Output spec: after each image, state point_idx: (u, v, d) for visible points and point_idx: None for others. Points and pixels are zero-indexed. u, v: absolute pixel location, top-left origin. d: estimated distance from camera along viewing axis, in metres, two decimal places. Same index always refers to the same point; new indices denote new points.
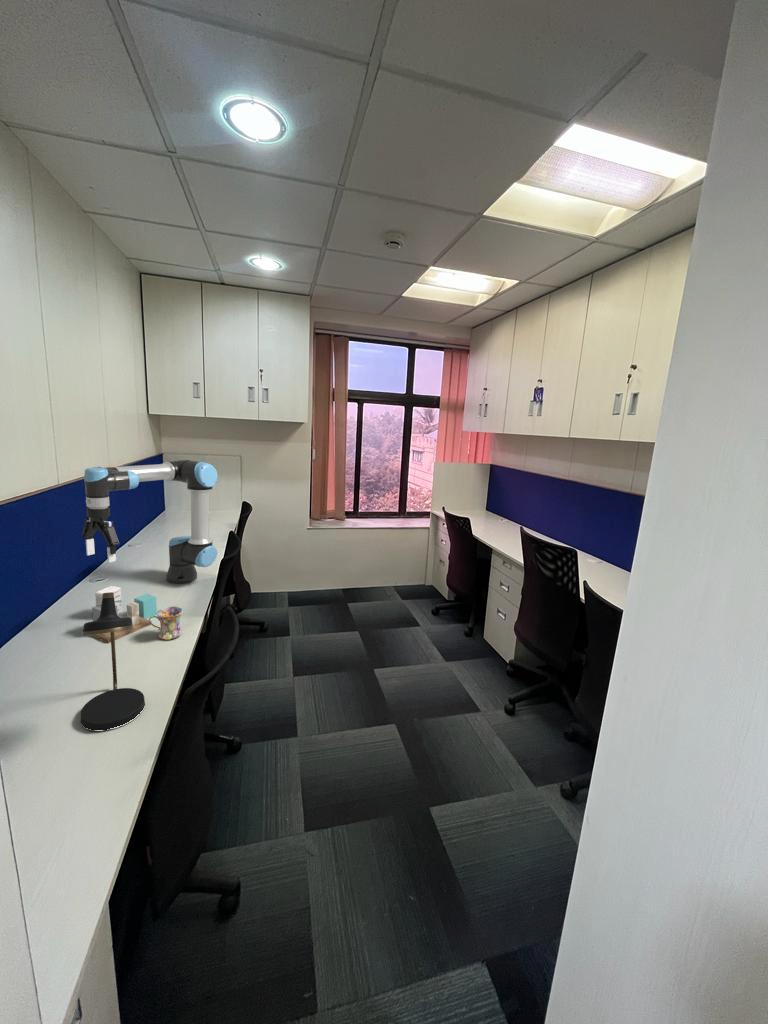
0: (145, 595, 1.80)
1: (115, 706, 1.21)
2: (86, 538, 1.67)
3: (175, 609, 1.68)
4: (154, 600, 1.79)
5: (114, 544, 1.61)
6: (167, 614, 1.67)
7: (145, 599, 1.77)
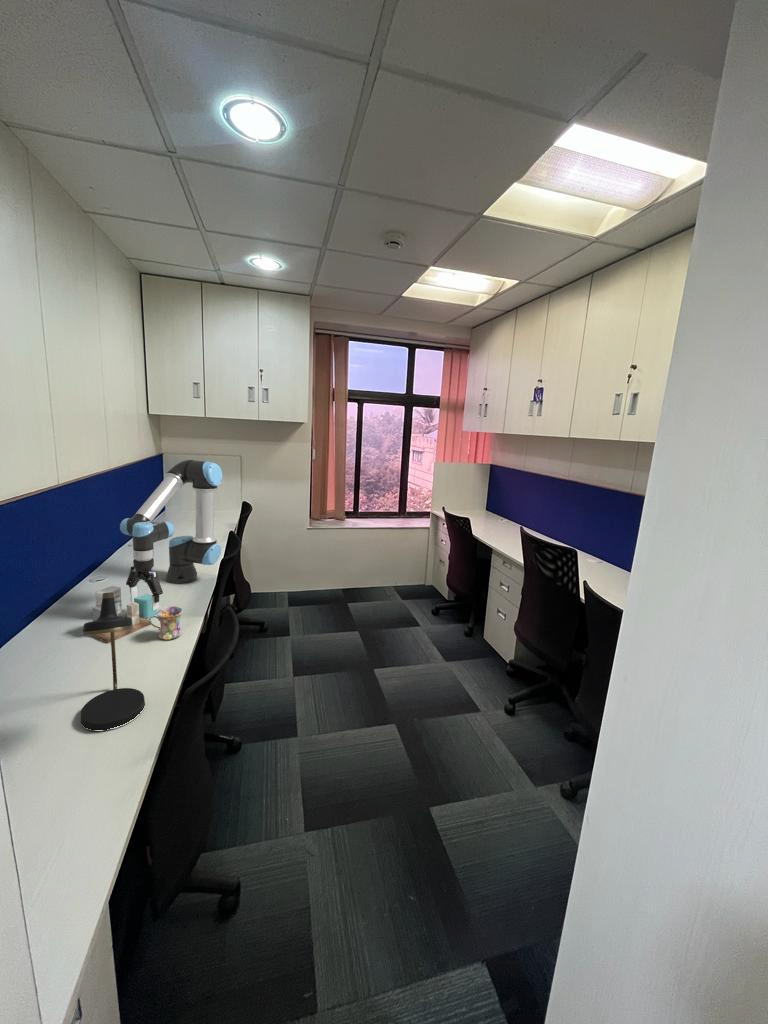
0: (145, 595, 1.80)
1: (115, 706, 1.21)
2: (131, 586, 1.79)
3: (175, 609, 1.68)
4: None
5: (158, 593, 1.73)
6: (167, 614, 1.67)
7: (145, 599, 1.77)
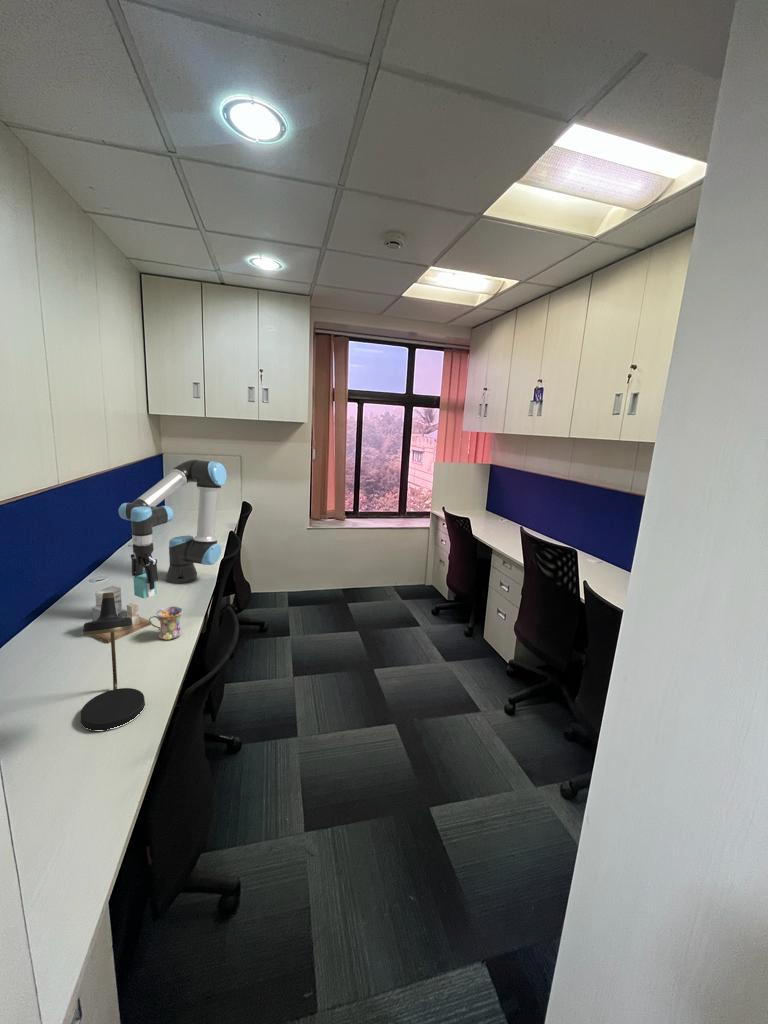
0: (145, 574, 1.79)
1: (115, 706, 1.21)
2: None
3: (175, 609, 1.68)
4: None
5: (153, 580, 1.74)
6: (167, 614, 1.67)
7: (145, 578, 1.75)
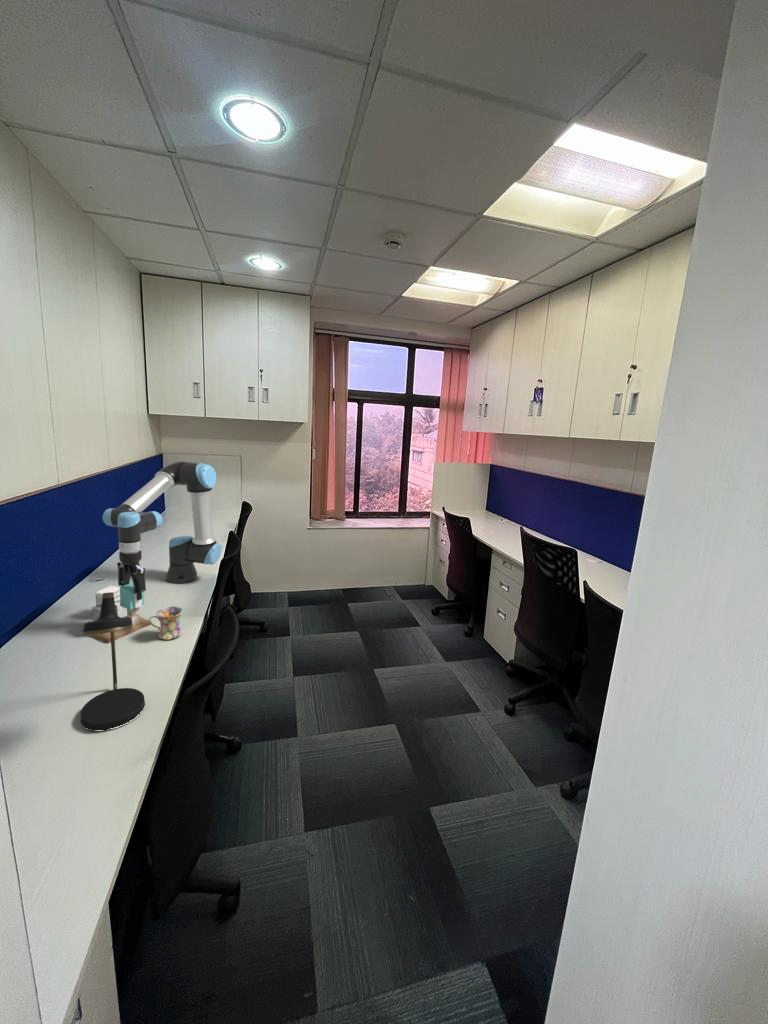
0: (132, 584, 1.68)
1: (115, 706, 1.21)
2: None
3: (175, 609, 1.68)
4: None
5: (141, 590, 1.63)
6: (167, 614, 1.67)
7: (132, 588, 1.65)
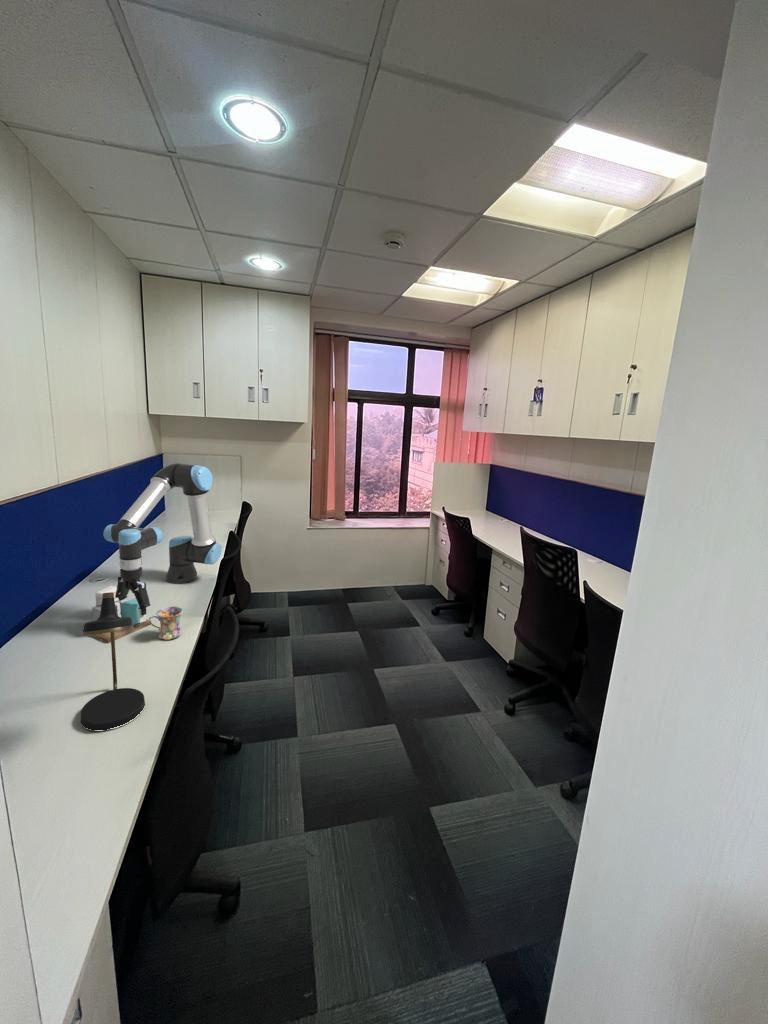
0: (133, 600, 1.70)
1: (115, 706, 1.21)
2: (120, 599, 1.69)
3: (175, 609, 1.68)
4: None
5: (145, 606, 1.64)
6: (167, 614, 1.67)
7: (132, 604, 1.66)
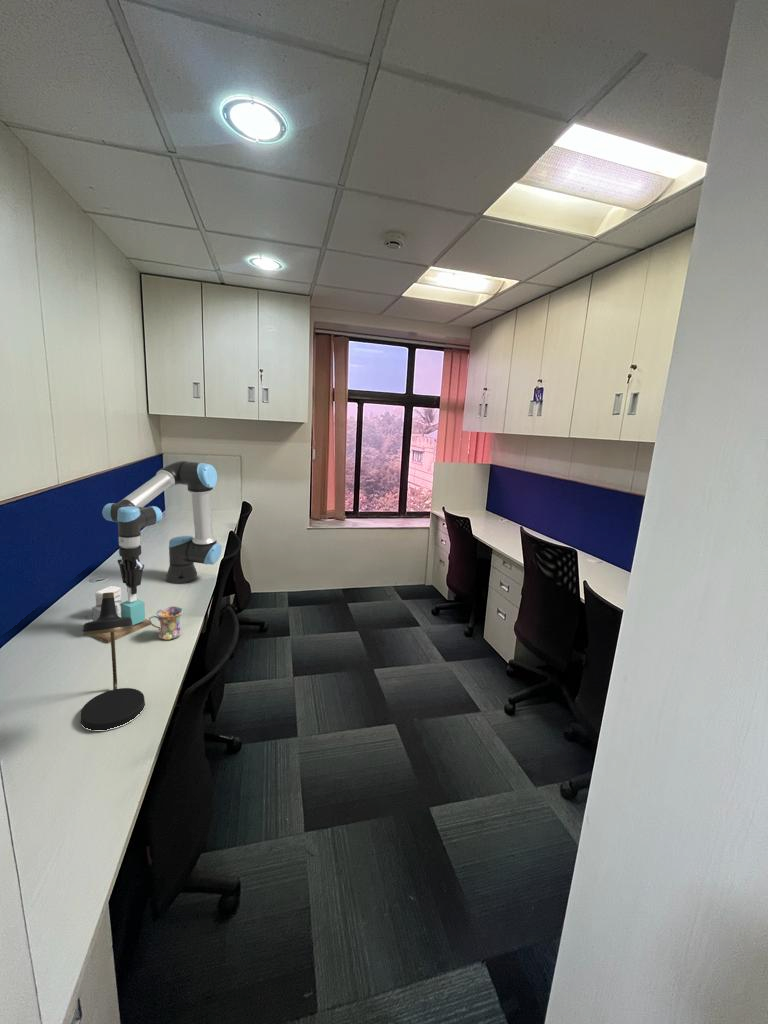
0: None
1: (115, 706, 1.21)
2: (127, 583, 1.65)
3: (175, 609, 1.68)
4: (142, 605, 1.69)
5: (135, 585, 1.64)
6: (167, 614, 1.67)
7: (132, 604, 1.66)
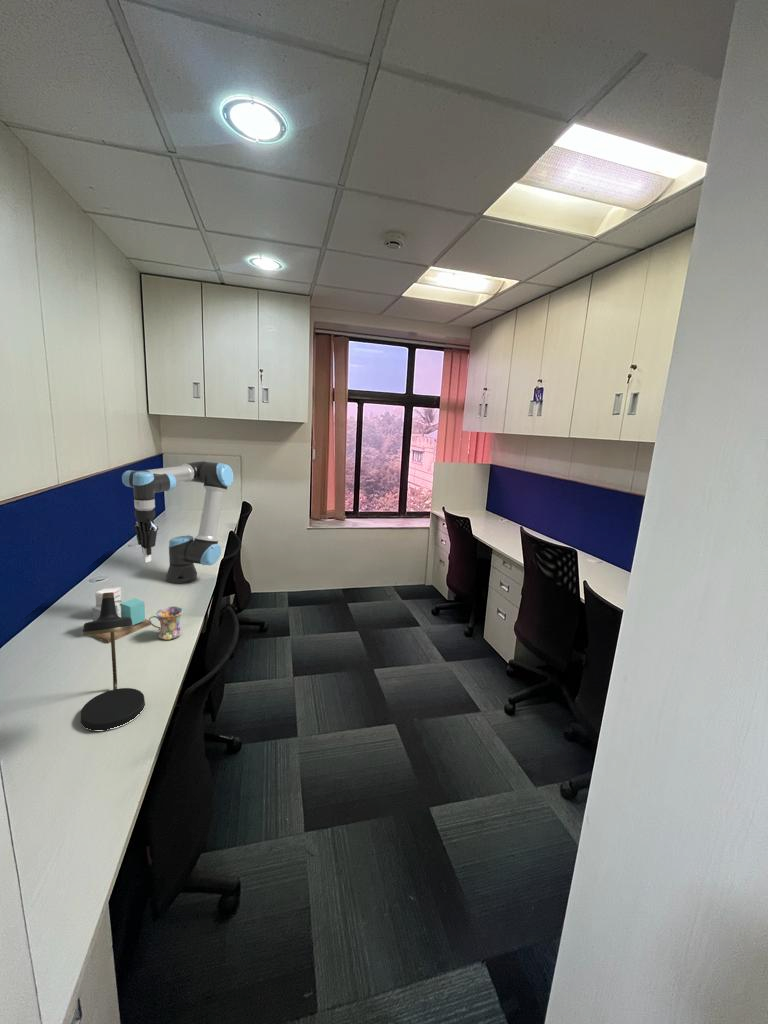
0: (133, 600, 1.70)
1: (115, 706, 1.21)
2: (143, 545, 1.76)
3: (175, 609, 1.68)
4: (142, 605, 1.69)
5: (150, 546, 1.75)
6: (167, 614, 1.67)
7: (132, 604, 1.66)
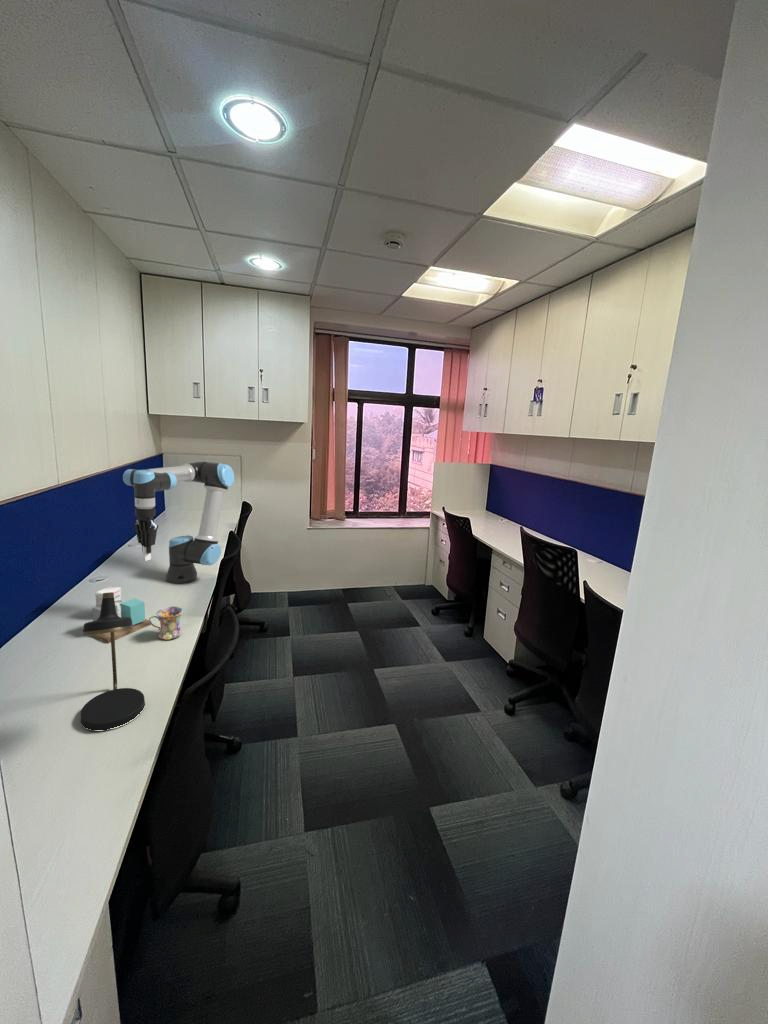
0: (133, 600, 1.70)
1: (115, 706, 1.21)
2: (143, 543, 1.76)
3: (175, 609, 1.68)
4: (142, 605, 1.69)
5: (150, 544, 1.75)
6: (167, 614, 1.67)
7: (132, 604, 1.66)
